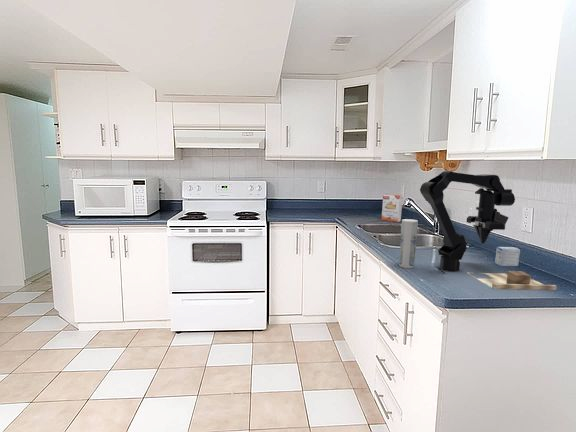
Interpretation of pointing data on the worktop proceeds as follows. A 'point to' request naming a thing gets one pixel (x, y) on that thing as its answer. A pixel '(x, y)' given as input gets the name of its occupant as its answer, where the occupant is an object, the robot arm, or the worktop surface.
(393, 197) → the cracker box
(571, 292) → the worktop surface
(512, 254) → the medicine box
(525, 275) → the walnut block
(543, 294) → the worktop surface
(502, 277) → the trap board
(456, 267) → the robot arm
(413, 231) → the spray can
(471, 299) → the worktop surface
